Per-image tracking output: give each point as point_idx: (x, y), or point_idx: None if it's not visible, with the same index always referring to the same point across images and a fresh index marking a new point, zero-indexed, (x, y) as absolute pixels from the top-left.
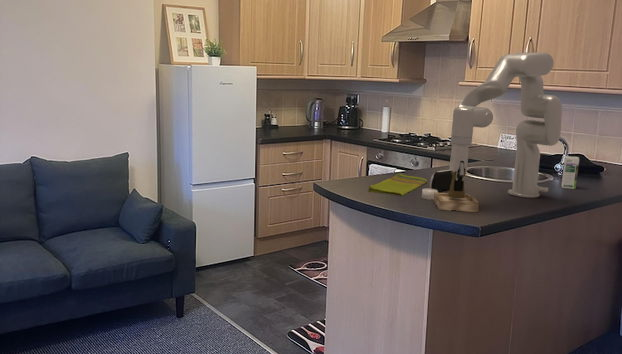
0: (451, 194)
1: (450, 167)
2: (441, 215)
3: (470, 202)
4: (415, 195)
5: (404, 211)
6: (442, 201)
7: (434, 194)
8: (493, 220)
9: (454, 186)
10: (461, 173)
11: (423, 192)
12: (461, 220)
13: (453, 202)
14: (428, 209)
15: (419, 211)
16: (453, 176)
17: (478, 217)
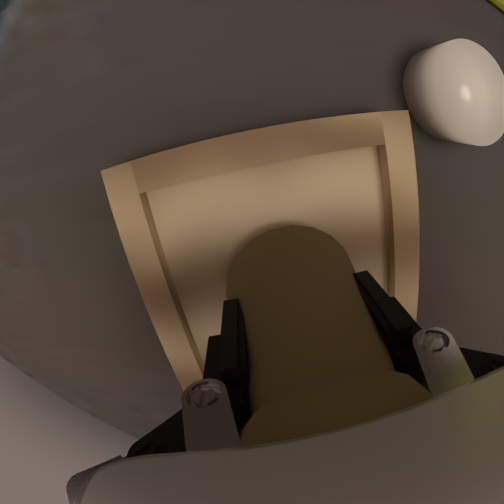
0: (243, 260)
1: (462, 421)
2: (20, 197)
3: (172, 367)
4: (470, 28)
5: (25, 13)
6: (109, 189)
7: (391, 111)
8: (87, 400)
9: (222, 323)
10: (74, 495)
11: (439, 44)
12: (3, 290)
13: (135, 267)
14: (108, 99)
15: (44, 69)
16: (298, 378)
17: (91, 360)
